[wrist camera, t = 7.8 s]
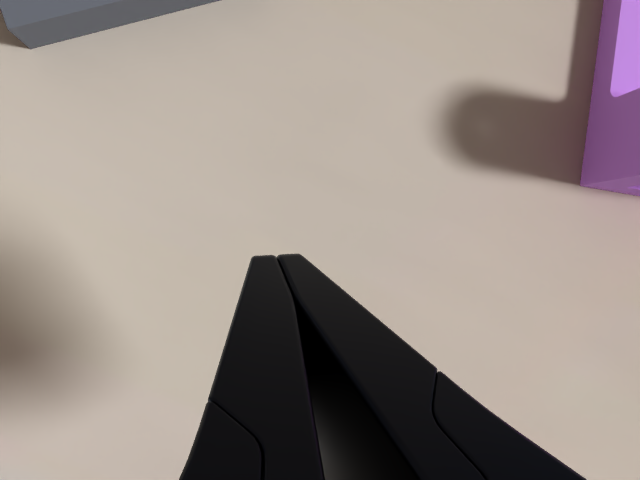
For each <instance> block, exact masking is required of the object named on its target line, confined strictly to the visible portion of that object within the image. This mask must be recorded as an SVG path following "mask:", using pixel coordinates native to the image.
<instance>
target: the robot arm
mask: <svg viewBox="0 0 640 480" xmlns="http://www.w3.org/2000/svg"><path fill="white" fill-rule="evenodd" d="M179 480H586V479H585V478H584V477H582V476H581V475H579V474H578V473H576V472H575V471H574V470H572V469H571V468H569V467H568V466H567V465H565V464H564V463H562V462H561V461H559V460H558V459H557V458H555V457H554V456H552V455H551V454H549V453H548V452H547V451H545V450H544V449H542V448H541V447H539V446H538V445H537V444H535V443H534V442H532V441H531V440H529V439H528V438H527V437H525V436H524V435H522V434H521V433H519V432H518V431H517V430H515V429H514V428H513V427H511V426H510V425H509V424H507V423H506V422H504V421H503V420H502V419H500V418H499V417H498V416H496V415H495V414H493V413H492V412H491V411H489V410H488V409H487V408H485V407H484V406H483V405H482V404H480V403H479V402H478V401H477V400H475V399H474V398H473V397H472V396H470V395H469V394H468V393H467V392H465V391H464V390H463V389H462V388H460V387H459V386H458V385H457V384H455V383H454V382H453V381H452V380H451V379H449V378H448V377H447V376H446V375H445V374H443V373H442V372H441V371H439V372H437V368H436V367H435V366H434V365H432V364H431V363H430V362H429V361H428V360H426V359H425V358H424V357H423V356H422V355H420V354H419V353H418V352H417V351H416V350H414V349H413V348H412V347H411V346H410V345H409V344H407V343H406V342H405V341H404V340H403V339H401V338H400V337H399V336H398V335H397V334H395V333H394V332H393V331H392V330H391V329H389V328H388V327H387V326H386V325H385V324H383V323H382V322H381V321H380V320H379V319H377V318H376V317H375V316H374V315H373V314H371V313H370V312H369V311H368V310H367V309H365V308H364V307H363V306H362V305H361V304H359V303H358V302H357V301H356V300H355V299H353V298H352V297H351V296H350V295H349V294H347V293H346V292H345V291H344V290H343V289H341V288H340V287H339V286H338V285H337V284H335V283H334V282H333V281H332V280H331V279H330V278H328V277H327V276H326V275H325V274H324V273H322V272H321V271H320V270H319V269H318V268H316V267H315V266H314V265H313V264H312V263H310V262H309V261H308V260H307V259H306V258H304V257H303V256H302V255H300V254H282V255H278V256H277V257H275V256H273V255H263V256H254V257H252V258H251V261H250V264H249V268H248V271H247V274H246V277H245V281H244V284H243V287H242V290H241V294H240V297H239V300H238V303H237V307H236V310H235V313H234V316H233V320H232V323H231V326H230V330H229V333H228V336H227V339H226V343H225V346H224V349H223V352H222V356H221V359H220V362H219V365H218V369H217V372H216V375H215V378H214V382H213V385H212V388H211V391H210V395H209V398H208V403H207V404H206V407H205V410H204V413H203V416H202V420H201V423H200V426H199V429H198V432H197V434H196V437H195V440H194V443H193V446H192V449H191V452H190V454H189V457H188V460H187V462H186V464H185V467H184V469H183V472H182V474H181V476H180V479H179Z"/></svg>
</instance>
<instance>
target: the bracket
mask: <svg viewBox="0 0 640 480" xmlns="http://www.w3.org/2000/svg"><path fill="white" fill-rule="evenodd" d="M580 186H584V187H590V188H596V189H601V190H607V191H613V192H619V193H624V194H630V195H636V196H640V0H604V2H603V10H602V18H601V26H600V33H599V41H598V49H597V57H596V64H595V72H594V80H593V88H592V95H591V103H590V111H589V119H588V126H587V134H586V142H585V150H584V157H583V165H582V173H581V181H580Z"/></svg>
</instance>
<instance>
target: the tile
mask: <svg viewBox="0 0 640 480" xmlns="http://www.w3.org/2000/svg"><path fill="white" fill-rule="evenodd" d="M216 1H220V0H0V9H1V11H2V14H3V17H4V20H5V23H6V26H7V29H8V30H9V31H10V32H11V33H13V34H14V35H15V36H16V37H17V38H18V39H19V40H21V41H22V42H23V43H24V44H25V45H26V46H27V47H29V48H30V49H33V48H37V47H41V46H45V45H49V44H53V43H57V42H61V41H64V40H68V39H72V38H76V37H80V36H84V35H88V34H92V33H95V32H99V31H103V30H107V29H111V28H115V27H119V26H123V25H126V24H130V23H134V22H138V21H142V20H146V19H150V18H154V17H157V16H161V15H165V14H169V13H173V12H177V11H181V10H185V9H189V8H192V7H196V6H200V5H204V4H208V3H212V2H216Z"/></svg>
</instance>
